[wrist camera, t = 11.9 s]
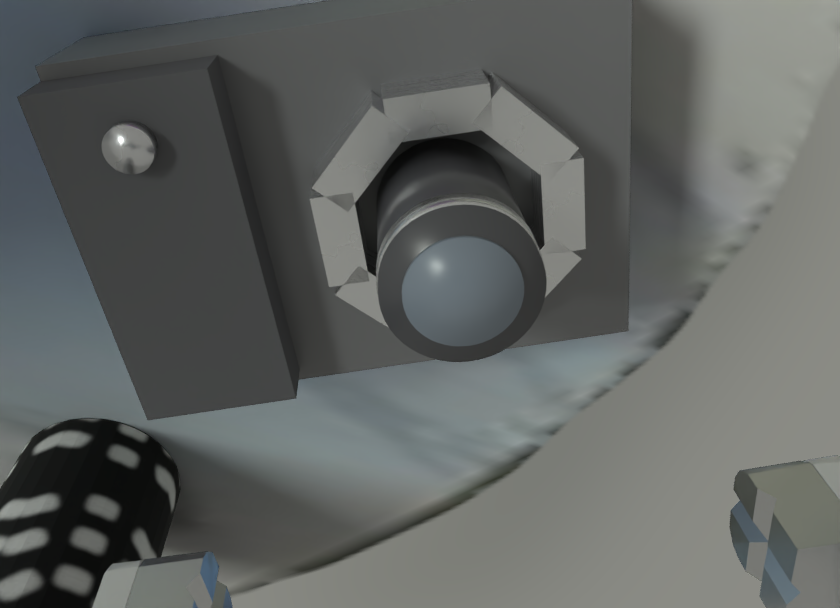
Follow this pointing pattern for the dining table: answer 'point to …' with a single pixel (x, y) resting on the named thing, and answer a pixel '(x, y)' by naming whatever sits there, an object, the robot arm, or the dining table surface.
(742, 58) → the dining table surface
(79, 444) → the spotted tube
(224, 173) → the camera body
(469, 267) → the lens
